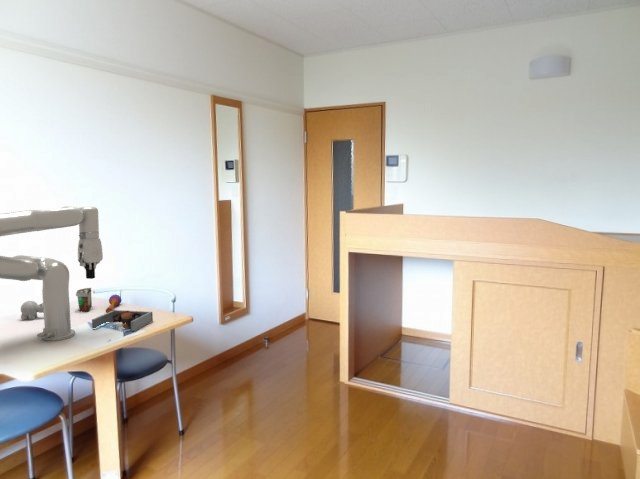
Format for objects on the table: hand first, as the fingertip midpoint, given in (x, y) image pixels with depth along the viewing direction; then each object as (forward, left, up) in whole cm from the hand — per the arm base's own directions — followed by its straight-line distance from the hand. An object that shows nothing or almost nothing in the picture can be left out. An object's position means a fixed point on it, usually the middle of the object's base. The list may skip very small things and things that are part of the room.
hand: (90, 278), depth 205 cm
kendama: (+34, +12, -23) cm, 42 cm away
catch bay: (+7, -10, -23) cm, 26 cm away
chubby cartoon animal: (+11, +37, -23) cm, 45 cm away
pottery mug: (+7, -12, -23) cm, 27 cm away
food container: (+29, +25, -23) cm, 45 cm away
